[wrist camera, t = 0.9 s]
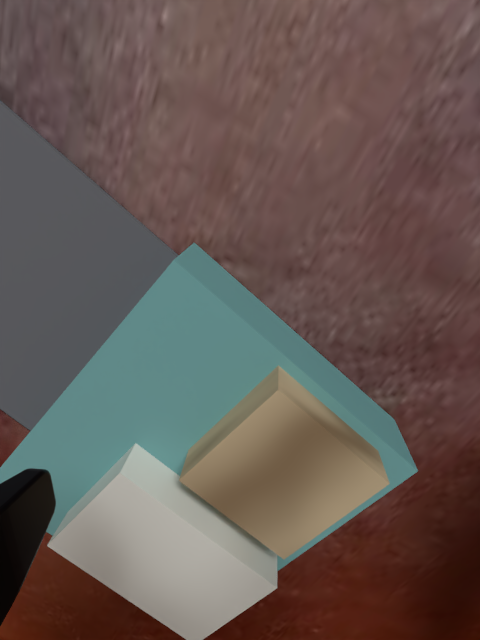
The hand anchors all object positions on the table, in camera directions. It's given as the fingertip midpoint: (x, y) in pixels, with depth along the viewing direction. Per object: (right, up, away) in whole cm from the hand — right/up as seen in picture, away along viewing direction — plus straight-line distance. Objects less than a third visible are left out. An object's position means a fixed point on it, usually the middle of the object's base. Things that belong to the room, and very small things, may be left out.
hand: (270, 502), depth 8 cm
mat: (-13, +6, +13) cm, 19 cm away
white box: (-4, -7, +13) cm, 15 cm away
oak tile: (+1, -2, +10) cm, 11 cm away
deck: (-3, -3, +15) cm, 16 cm away
